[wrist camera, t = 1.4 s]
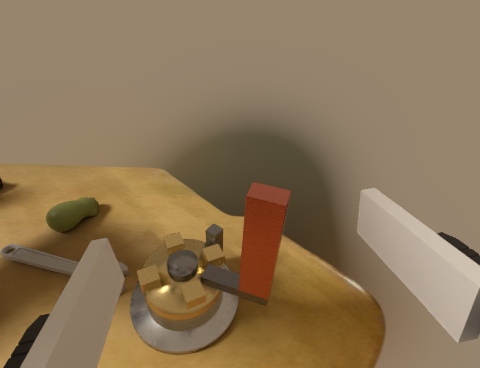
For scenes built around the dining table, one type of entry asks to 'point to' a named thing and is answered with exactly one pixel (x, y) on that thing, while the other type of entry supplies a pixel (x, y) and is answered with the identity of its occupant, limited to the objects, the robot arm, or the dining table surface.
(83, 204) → the pear
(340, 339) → the dining table surface
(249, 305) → the dining table surface
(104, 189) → the dining table surface
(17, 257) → the adjustable wrench
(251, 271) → the toy block assembly
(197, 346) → the spindle base
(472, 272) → the robot arm
